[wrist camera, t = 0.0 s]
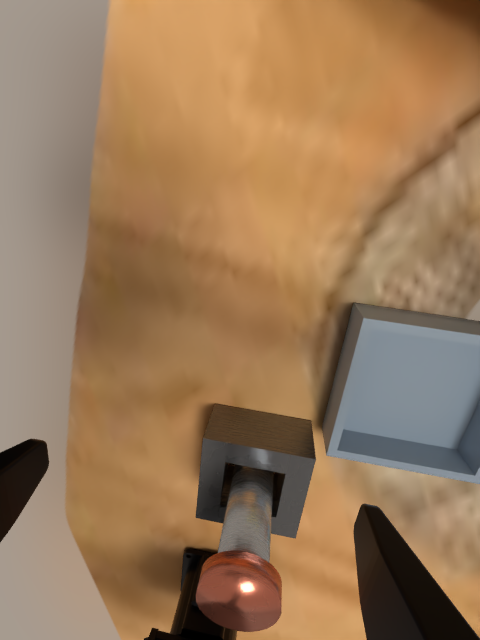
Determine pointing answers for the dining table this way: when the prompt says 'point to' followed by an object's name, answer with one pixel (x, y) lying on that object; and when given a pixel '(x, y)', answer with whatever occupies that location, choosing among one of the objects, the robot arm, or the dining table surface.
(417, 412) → the tray
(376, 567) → the robot arm
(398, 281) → the dining table surface
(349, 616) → the dining table surface
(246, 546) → the pin
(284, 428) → the hitch block
